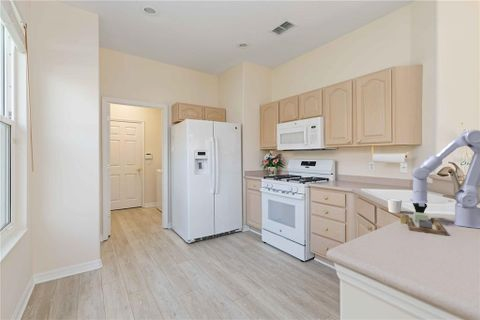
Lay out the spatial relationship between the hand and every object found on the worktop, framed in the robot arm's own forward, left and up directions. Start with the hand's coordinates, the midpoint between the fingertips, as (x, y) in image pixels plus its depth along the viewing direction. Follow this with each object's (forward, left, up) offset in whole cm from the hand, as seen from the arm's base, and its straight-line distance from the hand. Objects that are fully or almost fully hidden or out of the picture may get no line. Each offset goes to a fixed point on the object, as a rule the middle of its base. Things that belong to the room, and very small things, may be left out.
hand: (419, 217), depth 114 cm
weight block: (0, +18, -1) cm, 18 cm away
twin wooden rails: (0, +10, -1) cm, 10 cm away
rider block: (0, +4, -1) cm, 4 cm away
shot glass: (+10, -12, -1) cm, 16 cm away
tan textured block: (+7, +10, -1) cm, 12 cm away
